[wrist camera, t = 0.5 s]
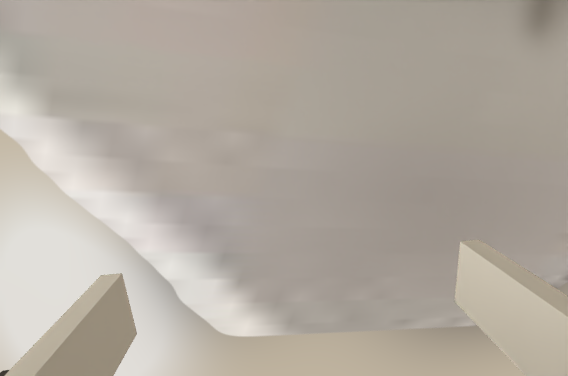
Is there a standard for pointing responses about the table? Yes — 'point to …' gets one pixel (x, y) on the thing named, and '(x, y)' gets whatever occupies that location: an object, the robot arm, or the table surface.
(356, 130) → the table surface
